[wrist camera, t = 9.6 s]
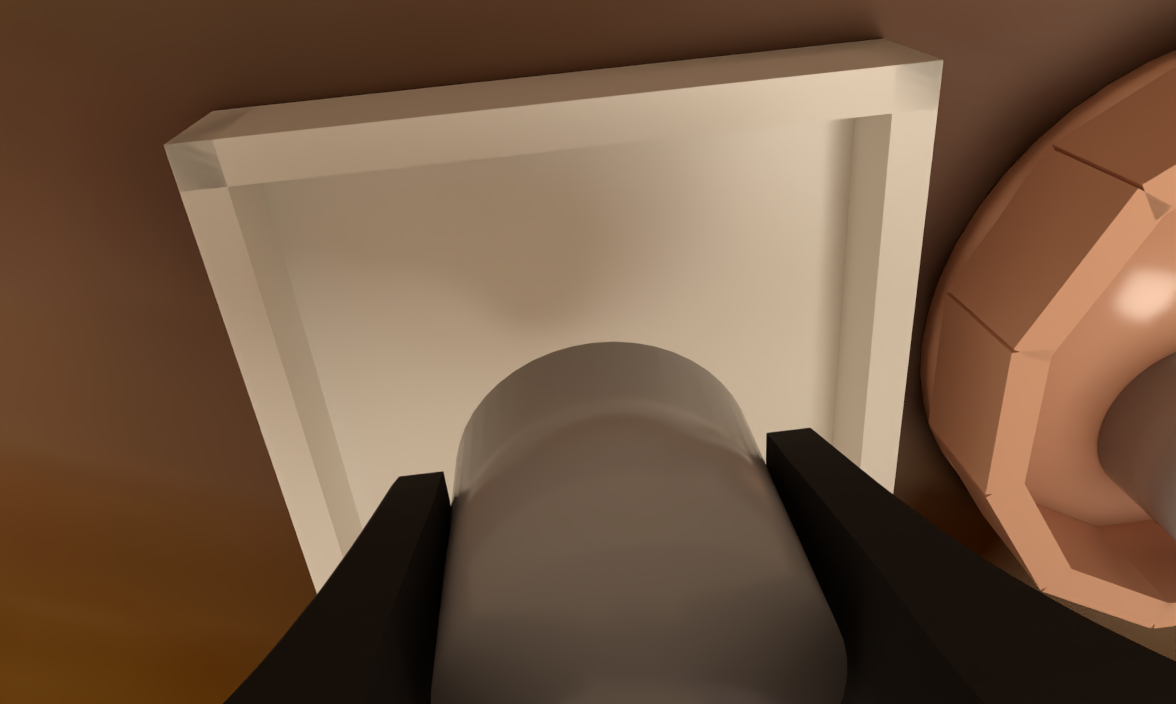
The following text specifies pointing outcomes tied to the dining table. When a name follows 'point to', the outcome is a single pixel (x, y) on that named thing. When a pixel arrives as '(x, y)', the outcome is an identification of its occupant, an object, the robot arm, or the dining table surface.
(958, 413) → the bowl
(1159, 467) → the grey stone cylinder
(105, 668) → the dining table surface
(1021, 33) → the dining table surface
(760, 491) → the pebble
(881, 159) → the tray
